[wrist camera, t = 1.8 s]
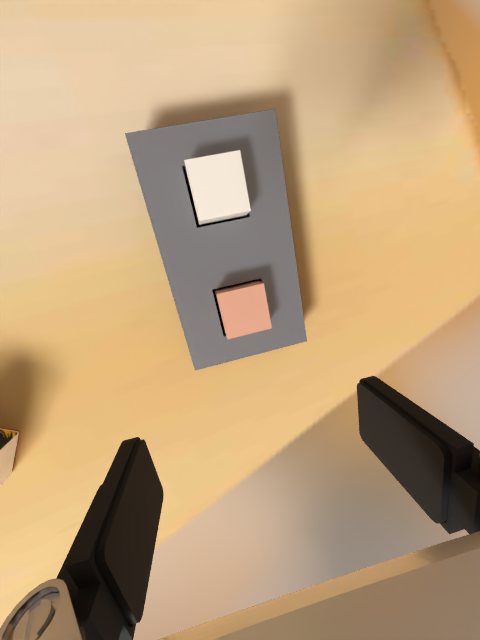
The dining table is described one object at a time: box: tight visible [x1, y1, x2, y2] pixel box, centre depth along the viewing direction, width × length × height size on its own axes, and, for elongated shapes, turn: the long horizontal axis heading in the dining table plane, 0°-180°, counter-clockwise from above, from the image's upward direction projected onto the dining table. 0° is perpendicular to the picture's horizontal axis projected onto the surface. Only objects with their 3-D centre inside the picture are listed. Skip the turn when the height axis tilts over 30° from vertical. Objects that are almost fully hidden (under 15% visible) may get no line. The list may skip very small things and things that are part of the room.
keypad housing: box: [125, 109, 307, 370], centre depth 27 cm, size 24×14×4 cm, turn 12°
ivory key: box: [184, 150, 251, 225], centre depth 22 cm, size 5×5×3 cm
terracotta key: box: [215, 281, 272, 340], centre depth 26 cm, size 5×5×3 cm
